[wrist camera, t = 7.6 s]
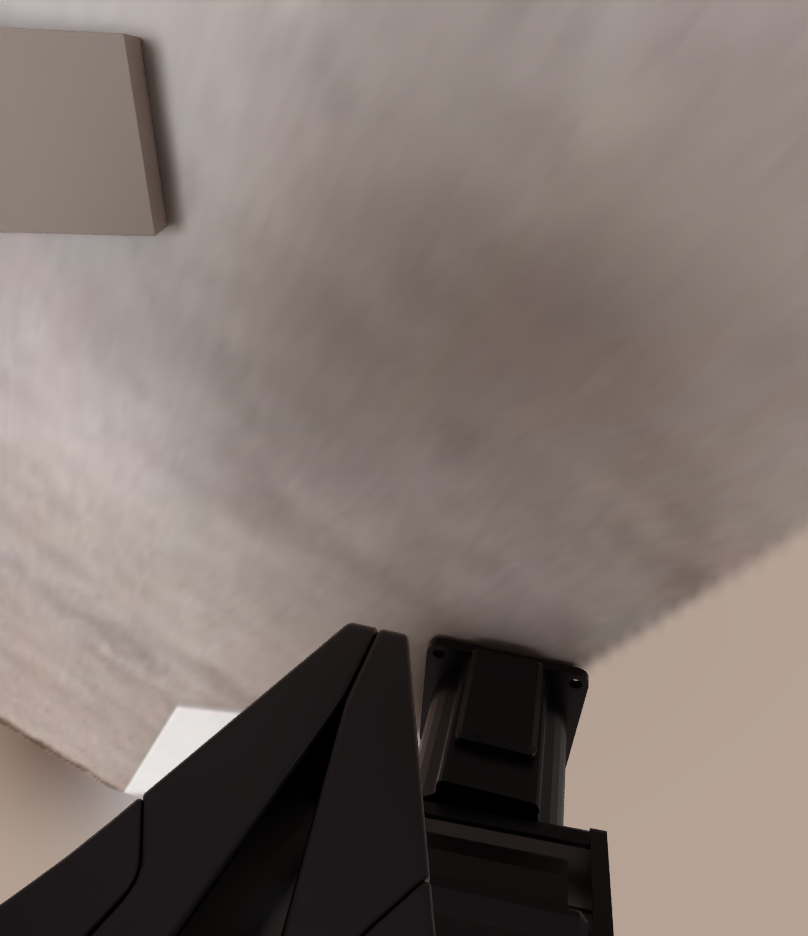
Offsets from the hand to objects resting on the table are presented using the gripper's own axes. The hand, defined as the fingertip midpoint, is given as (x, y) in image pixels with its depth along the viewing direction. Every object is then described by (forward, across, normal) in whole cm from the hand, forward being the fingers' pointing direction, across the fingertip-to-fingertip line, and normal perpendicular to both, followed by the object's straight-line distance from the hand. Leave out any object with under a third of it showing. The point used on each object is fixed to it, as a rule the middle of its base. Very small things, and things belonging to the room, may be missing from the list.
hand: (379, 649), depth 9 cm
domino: (+12, +11, -5) cm, 17 cm away
